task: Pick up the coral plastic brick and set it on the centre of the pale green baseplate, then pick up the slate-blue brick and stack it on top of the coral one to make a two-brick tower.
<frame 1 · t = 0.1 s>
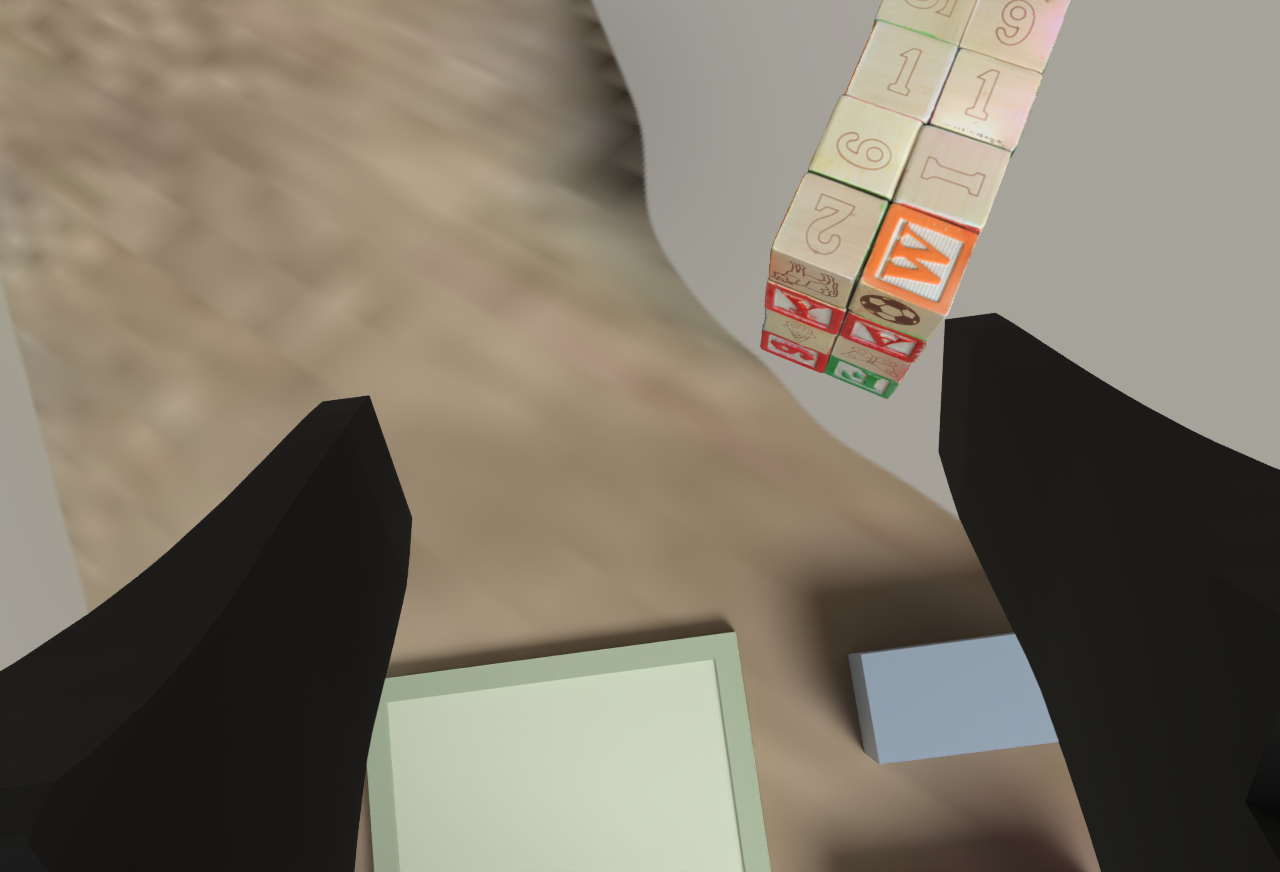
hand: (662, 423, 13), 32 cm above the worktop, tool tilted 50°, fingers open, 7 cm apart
stack of blocks: (911, 172, 48), on the worktop
baseplate: (569, 841, 43), on the worktop
slate brick: (964, 688, 43), on the worktop
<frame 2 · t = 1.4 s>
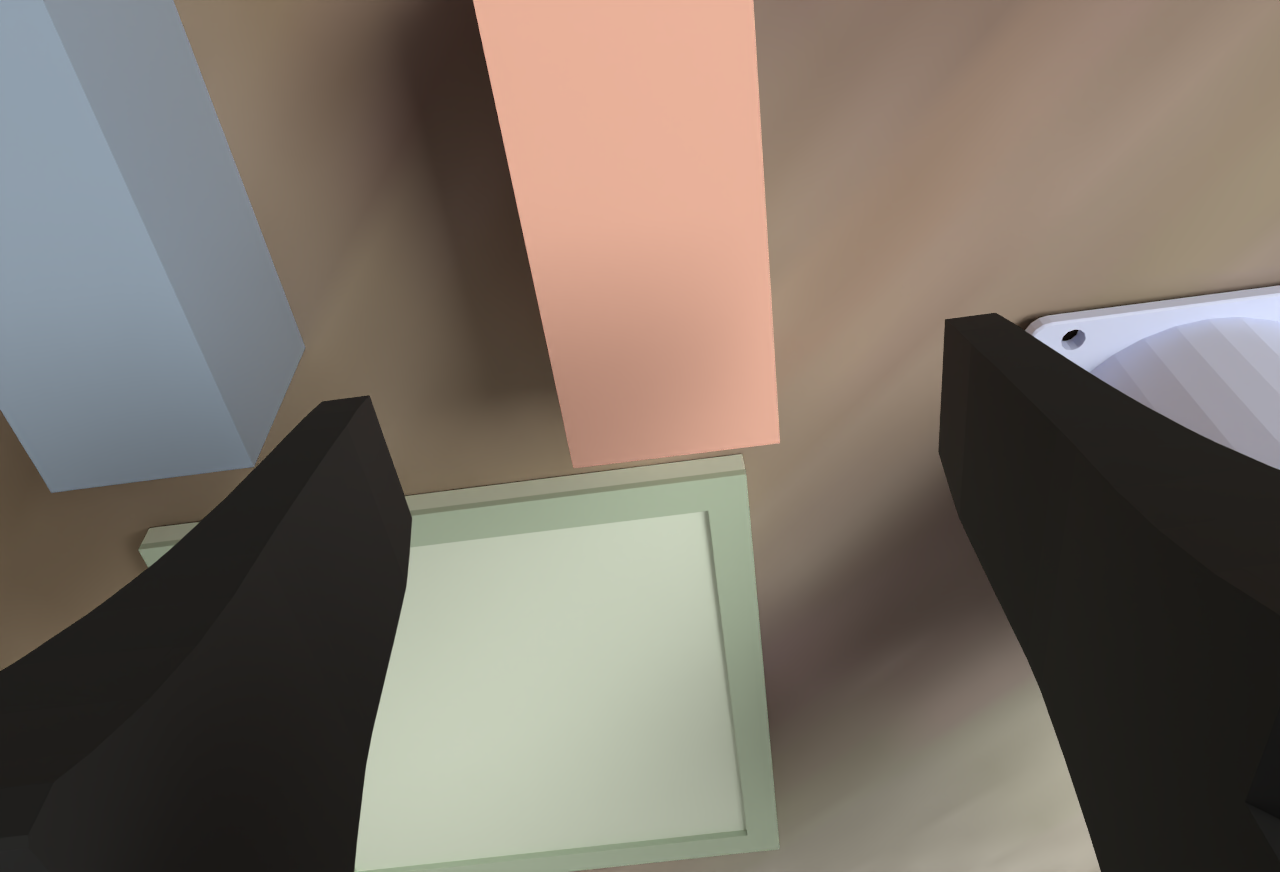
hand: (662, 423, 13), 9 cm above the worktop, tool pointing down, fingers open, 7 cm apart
baseplate: (507, 699, 30), on the worktop
coral brick: (638, 144, 21), on the worktop
slate brick: (137, 166, 21), on the worktop
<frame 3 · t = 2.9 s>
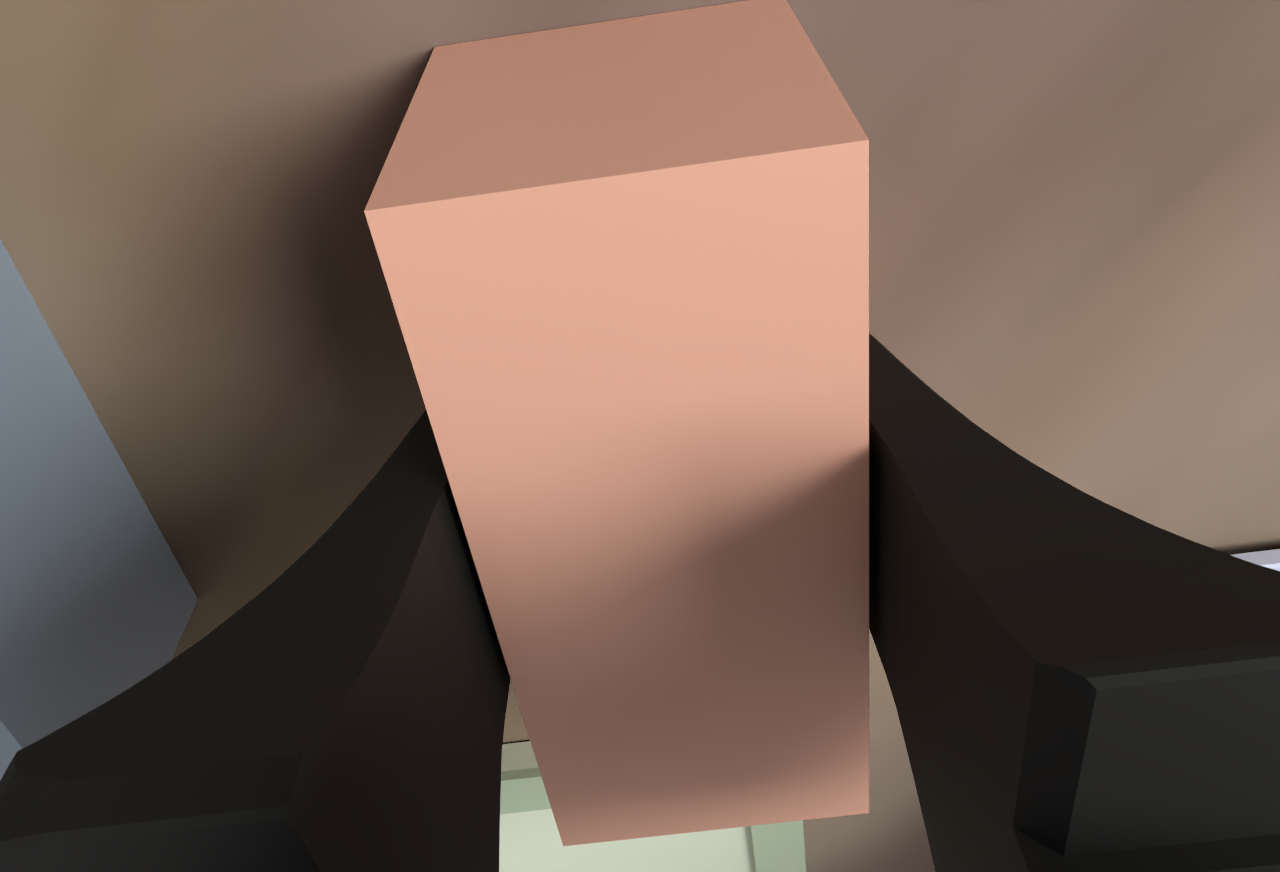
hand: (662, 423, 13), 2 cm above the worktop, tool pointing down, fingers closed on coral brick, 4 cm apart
coral brick: (656, 355, 14), on the worktop, touching gripper
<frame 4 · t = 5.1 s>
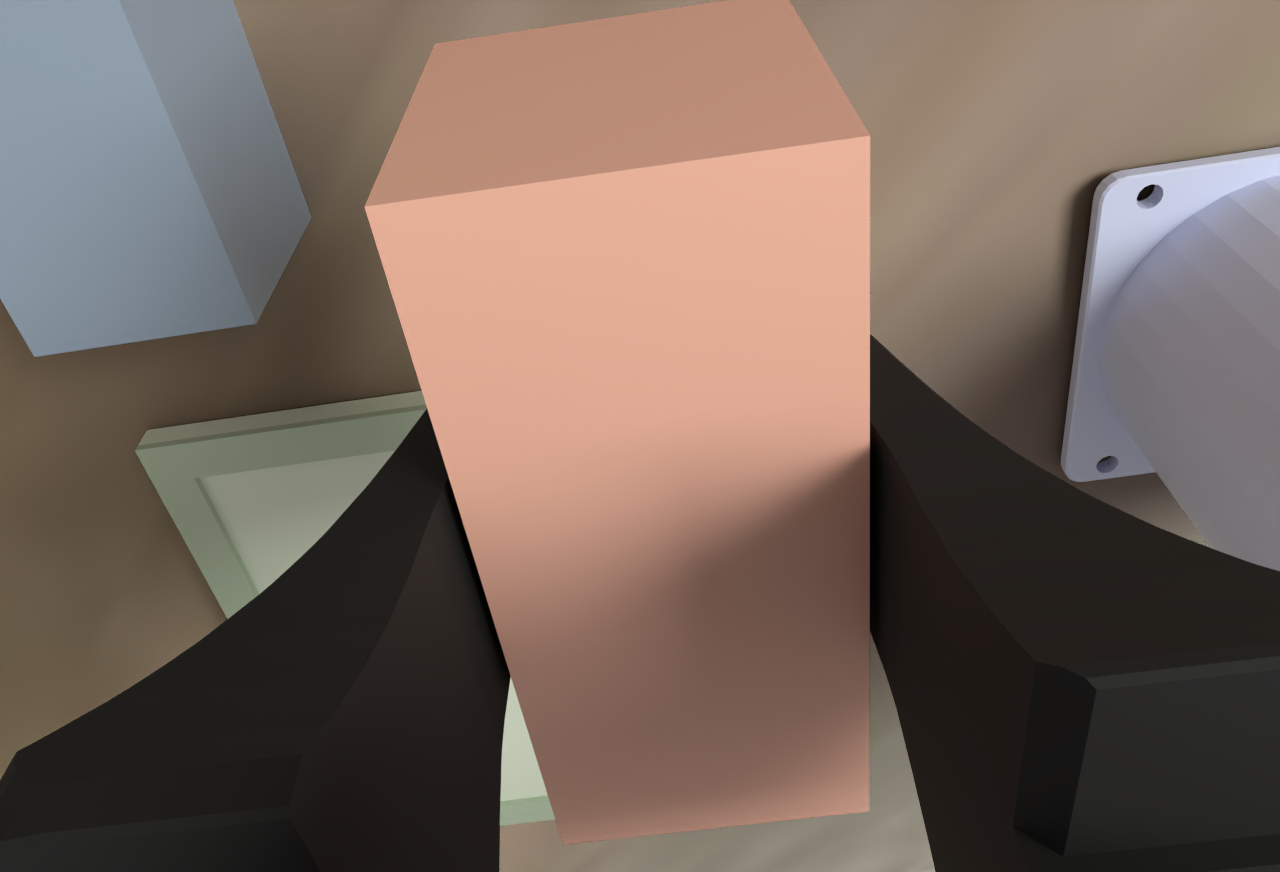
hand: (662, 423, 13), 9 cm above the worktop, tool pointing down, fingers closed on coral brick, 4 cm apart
baseplate: (531, 623, 29), on the worktop
coral brick: (656, 352, 14), point 8 cm above the worktop, touching gripper
slate brick: (125, 3, 19), on the worktop
when the fingers open (3 cm above the worktop, at t = 7.7 s): coral brick stays where it is, resting on baseplate.
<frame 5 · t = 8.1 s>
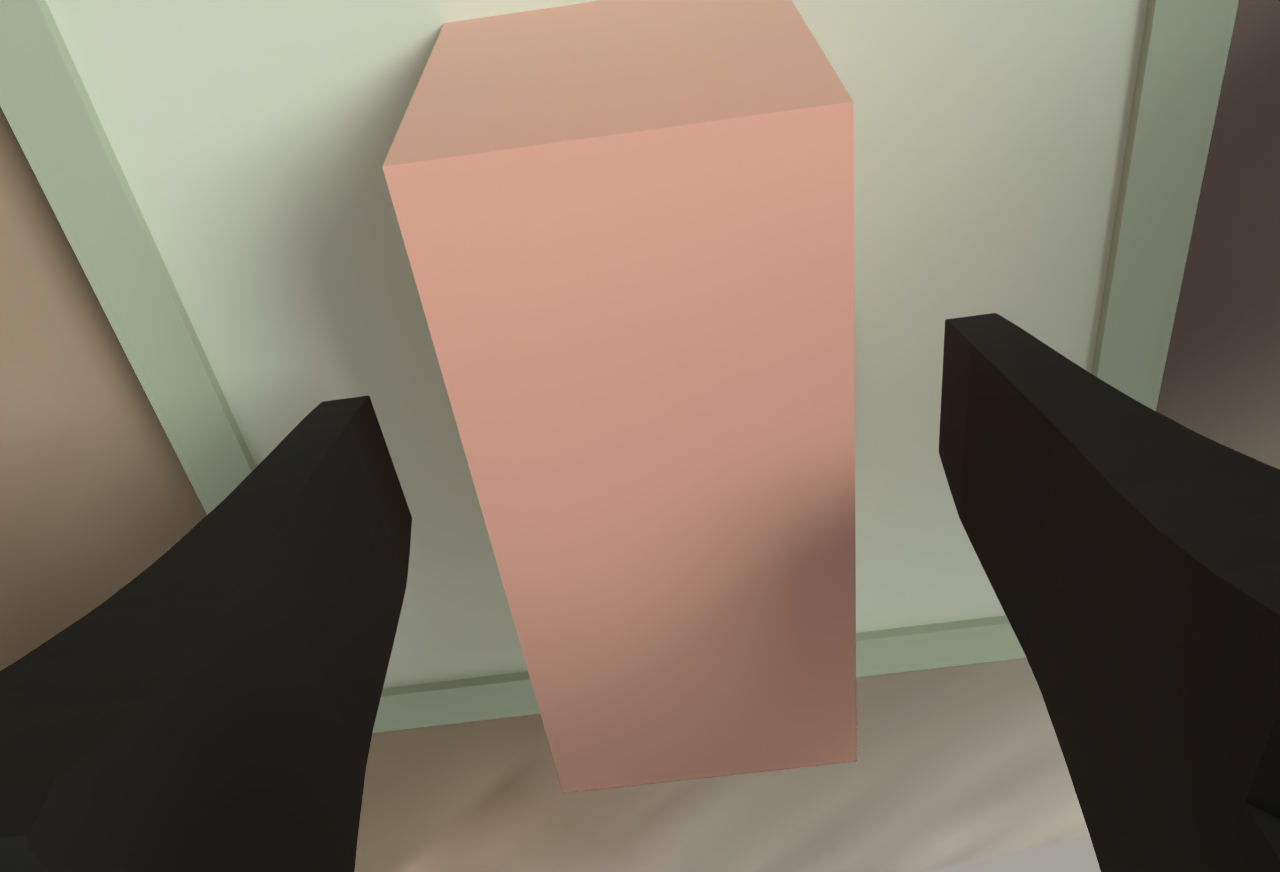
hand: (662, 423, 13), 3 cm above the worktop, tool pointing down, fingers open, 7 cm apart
baseplate: (652, 306, 15), on the worktop
coral brick: (653, 324, 15), point 1 cm above the worktop, touching baseplate
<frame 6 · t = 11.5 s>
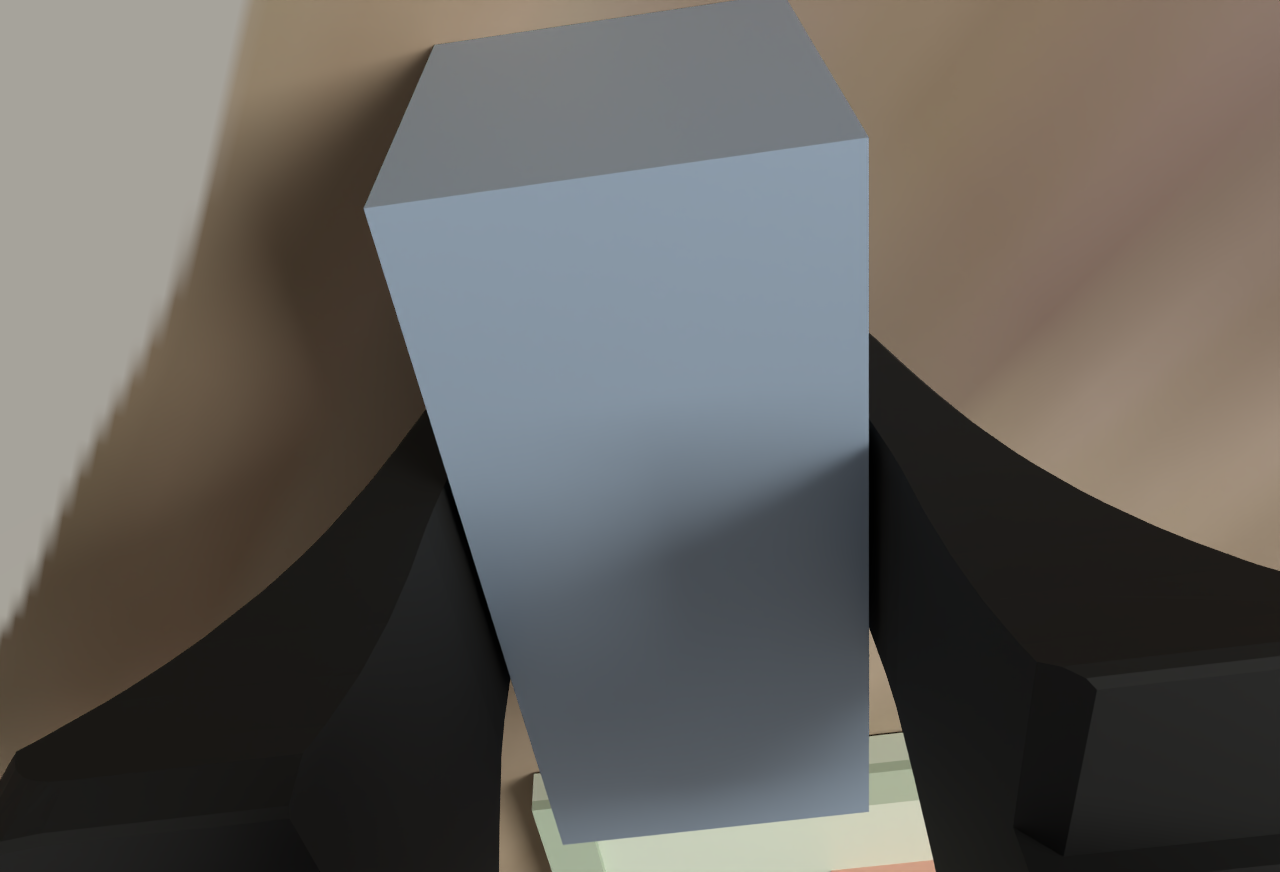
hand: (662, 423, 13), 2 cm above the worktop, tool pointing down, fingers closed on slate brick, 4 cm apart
slate brick: (655, 353, 14), on the worktop, touching gripper
when the fingers open (7 cm above the worktop, at t = 16.1 s): slate brick stays where it is, resting on coral brick.
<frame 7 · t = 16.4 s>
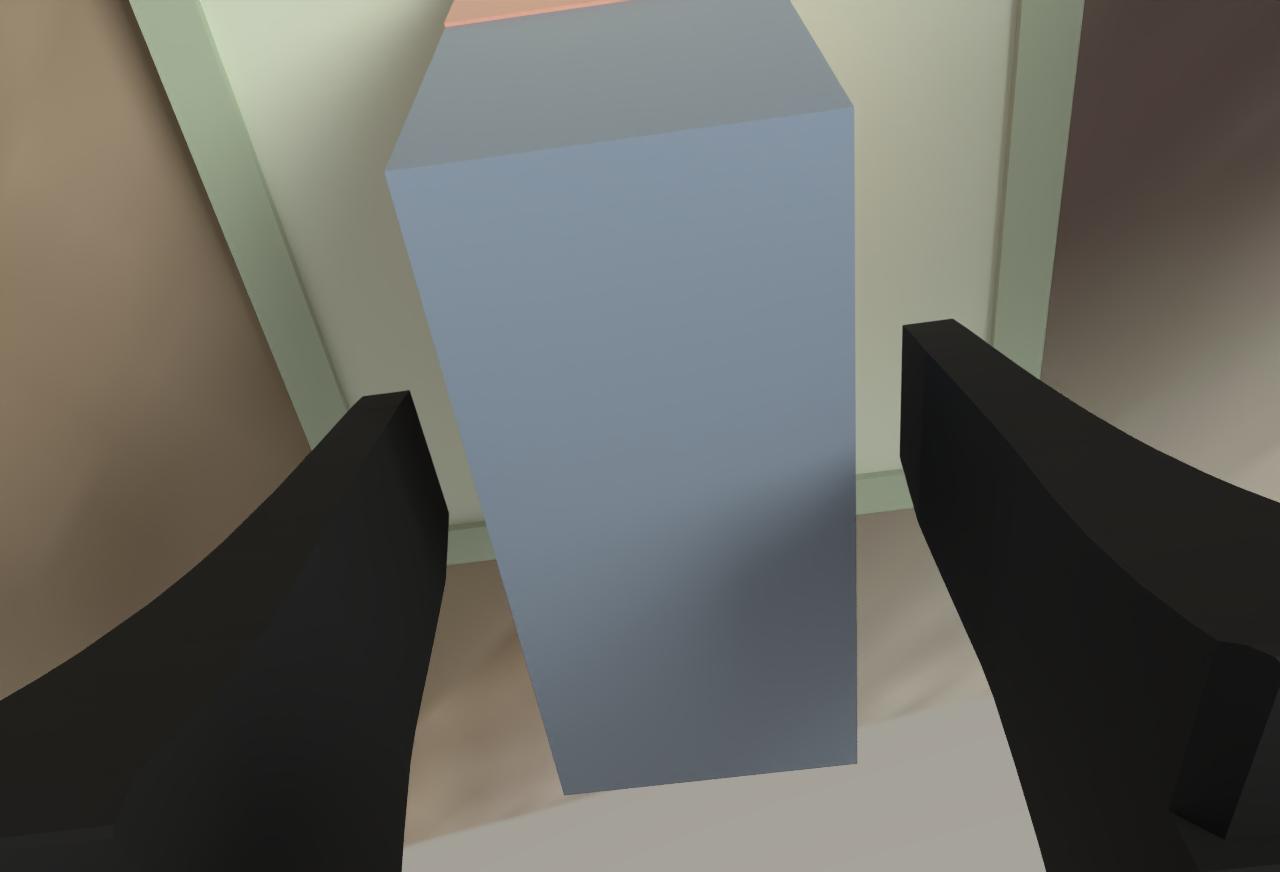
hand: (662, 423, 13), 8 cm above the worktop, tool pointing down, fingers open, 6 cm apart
baseplate: (641, 187, 19), on the worktop
coral brick: (642, 197, 19), point 1 cm above the worktop, touching baseplate, slate brick
slate brick: (654, 326, 15), point 5 cm above the worktop, touching coral brick
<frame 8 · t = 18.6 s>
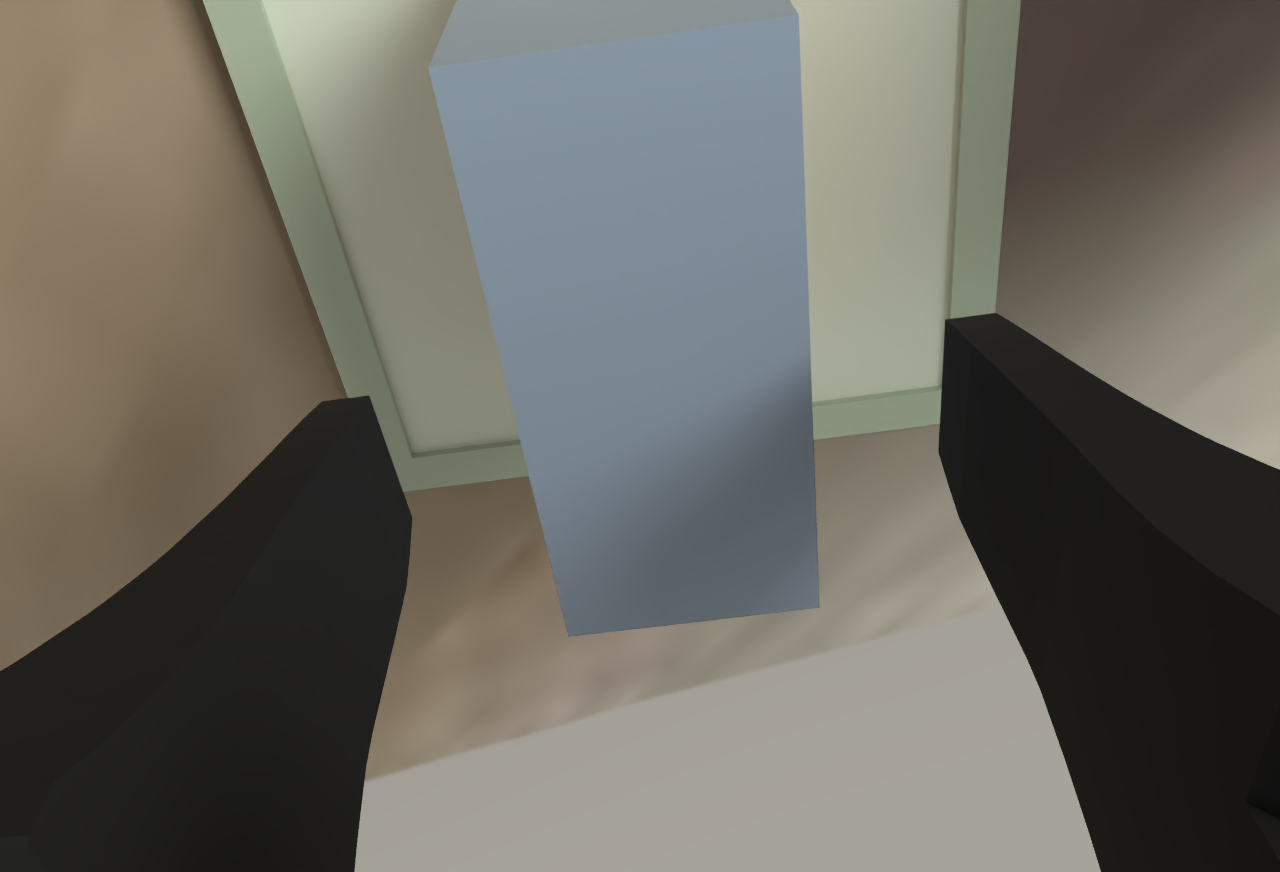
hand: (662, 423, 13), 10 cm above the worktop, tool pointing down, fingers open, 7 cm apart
baseplate: (636, 131, 21), on the worktop
slate brick: (646, 239, 17), point 5 cm above the worktop, touching coral brick
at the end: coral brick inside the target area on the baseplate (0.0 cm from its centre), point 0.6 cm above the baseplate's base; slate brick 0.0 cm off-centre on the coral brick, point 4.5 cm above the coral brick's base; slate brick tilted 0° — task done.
